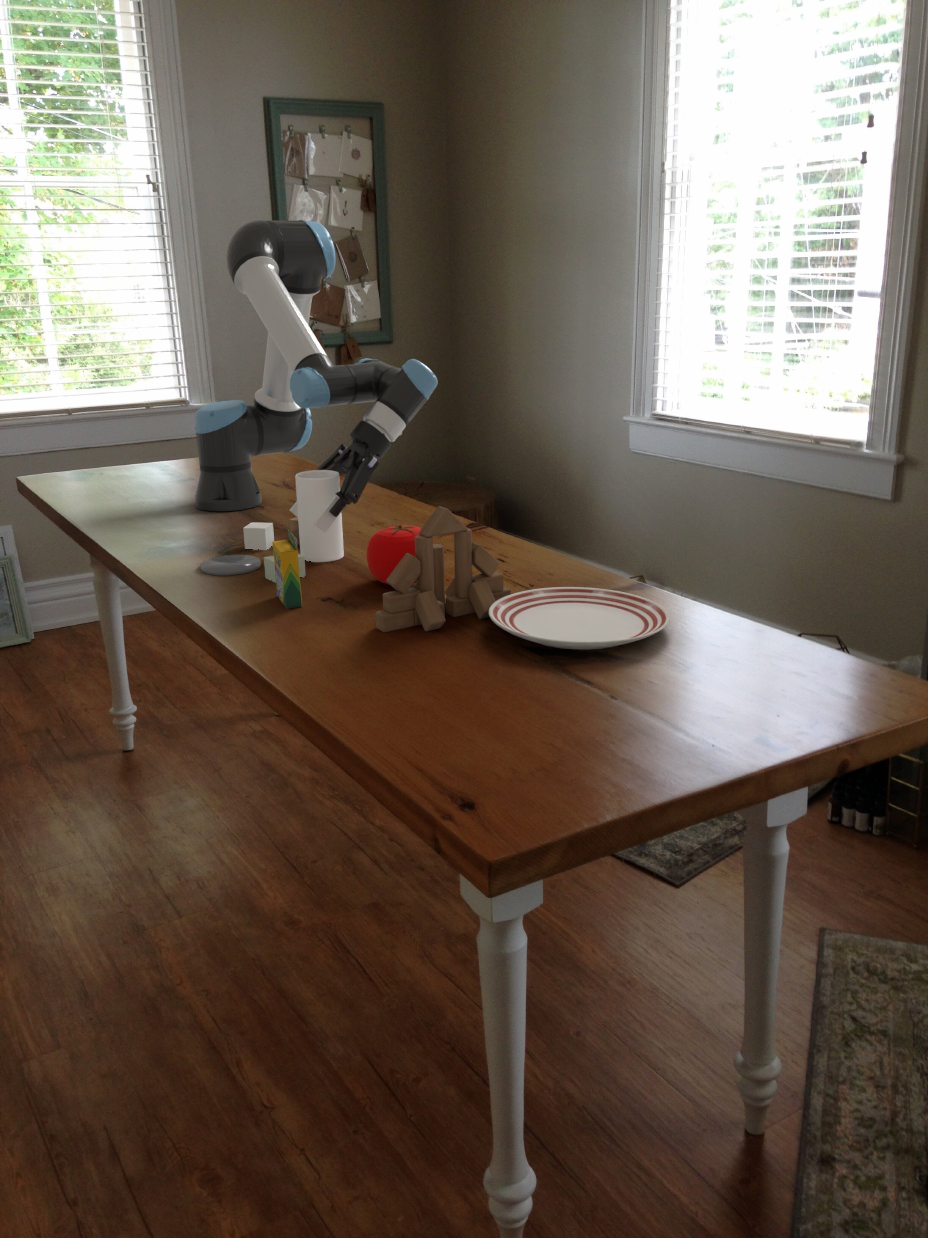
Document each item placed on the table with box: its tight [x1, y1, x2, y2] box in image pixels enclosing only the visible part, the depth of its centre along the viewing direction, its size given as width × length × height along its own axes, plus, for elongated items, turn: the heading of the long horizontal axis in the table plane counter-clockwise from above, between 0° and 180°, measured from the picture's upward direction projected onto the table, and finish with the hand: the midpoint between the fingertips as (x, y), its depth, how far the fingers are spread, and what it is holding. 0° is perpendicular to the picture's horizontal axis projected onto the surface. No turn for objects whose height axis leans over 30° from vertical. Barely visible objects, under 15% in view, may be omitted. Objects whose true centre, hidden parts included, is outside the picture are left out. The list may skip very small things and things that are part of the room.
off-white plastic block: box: [242, 521, 275, 551], centre depth 207 cm, size 4×4×4 cm
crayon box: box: [272, 528, 303, 610], centre depth 172 cm, size 7×3×12 cm, turn 21°
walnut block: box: [288, 516, 300, 545], centre depth 210 cm, size 5×5×5 cm
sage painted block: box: [263, 553, 307, 584], centre depth 187 cm, size 4×6×4 cm, turn 127°
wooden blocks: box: [374, 505, 512, 633], centre depth 164 cm, size 25×12×18 cm, turn 122°
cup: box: [294, 469, 345, 563], centre depth 198 cm, size 8×8×16 cm
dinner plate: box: [489, 586, 671, 650], centre depth 159 cm, size 27×27×3 cm
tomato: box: [366, 524, 422, 586], centre depth 182 cm, size 12×12×10 cm
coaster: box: [199, 554, 262, 577], centre depth 194 cm, size 11×11×1 cm
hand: (306, 521), depth 197 cm, fingers open, 11 cm apart
